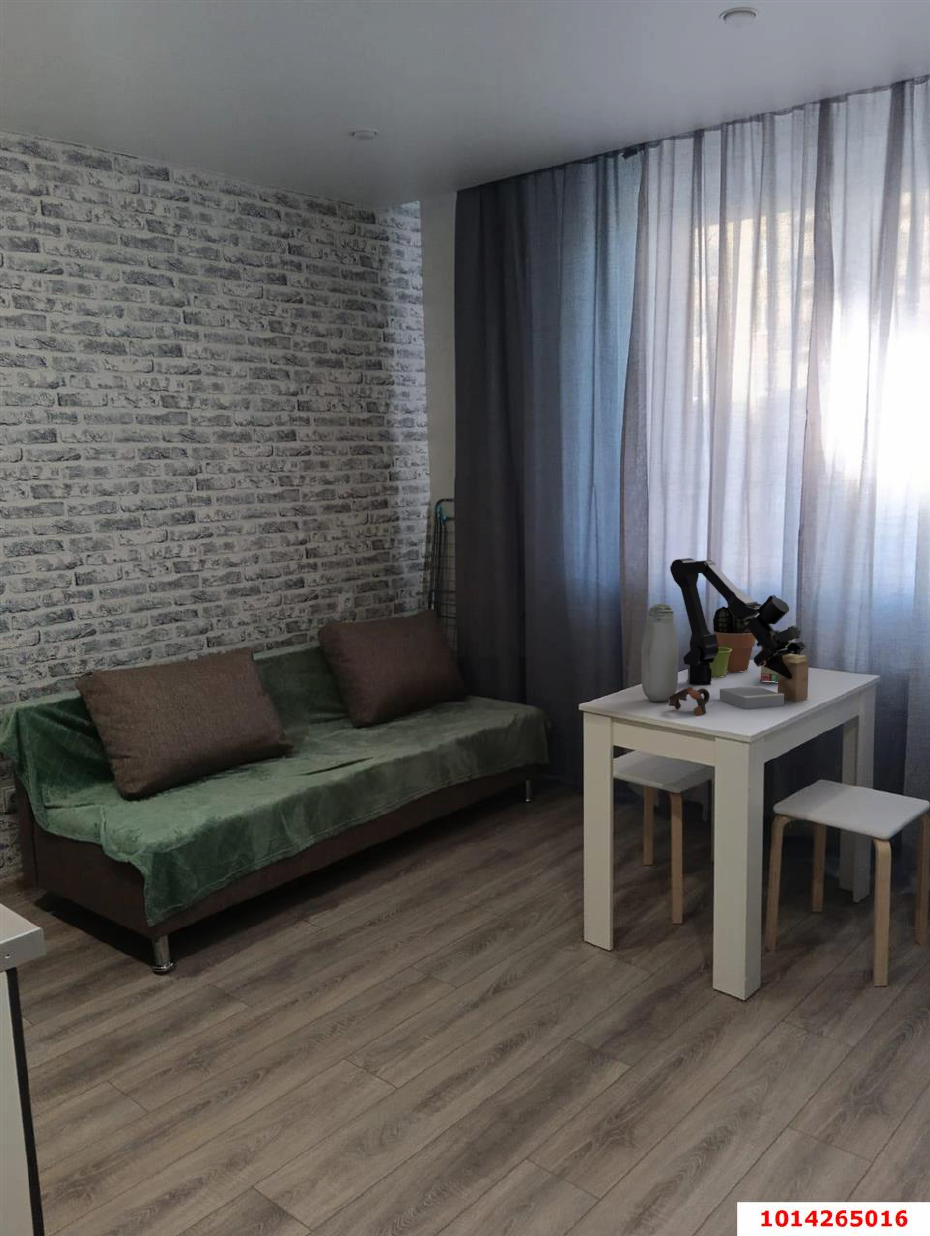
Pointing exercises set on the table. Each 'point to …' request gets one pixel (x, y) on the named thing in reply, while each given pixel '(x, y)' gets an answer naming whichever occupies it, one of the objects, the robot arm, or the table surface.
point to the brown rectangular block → (794, 678)
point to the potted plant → (733, 639)
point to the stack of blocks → (769, 672)
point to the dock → (751, 697)
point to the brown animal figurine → (694, 694)
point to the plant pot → (720, 662)
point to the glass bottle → (660, 654)
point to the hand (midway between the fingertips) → (797, 676)
